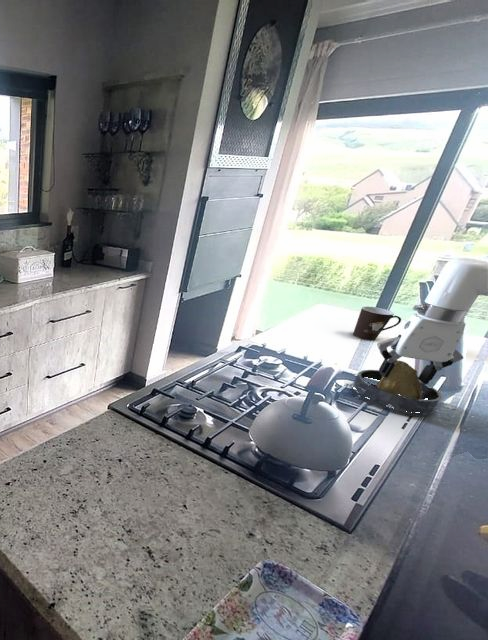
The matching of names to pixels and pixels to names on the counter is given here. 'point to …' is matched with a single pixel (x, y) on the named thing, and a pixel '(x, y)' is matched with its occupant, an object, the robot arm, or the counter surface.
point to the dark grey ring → (395, 396)
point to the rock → (402, 381)
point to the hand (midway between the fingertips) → (402, 377)
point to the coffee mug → (372, 322)
